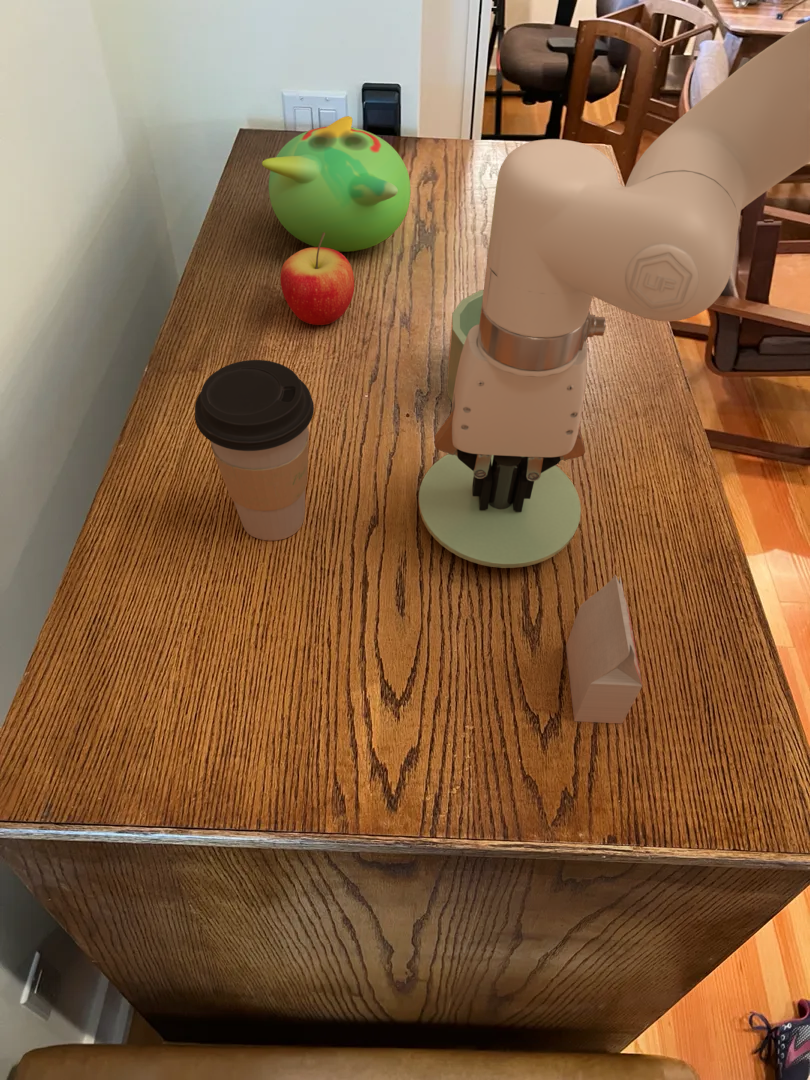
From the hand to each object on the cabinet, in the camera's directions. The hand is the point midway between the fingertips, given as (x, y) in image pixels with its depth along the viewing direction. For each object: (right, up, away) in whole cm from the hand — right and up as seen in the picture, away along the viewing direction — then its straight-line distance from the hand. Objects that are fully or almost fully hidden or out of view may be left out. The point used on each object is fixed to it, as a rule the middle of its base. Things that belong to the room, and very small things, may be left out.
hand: (499, 498), depth 70 cm
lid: (0, 0, +1) cm, 1 cm away
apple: (-19, +23, +22) cm, 37 cm away
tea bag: (+6, -15, -9) cm, 19 cm away
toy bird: (-17, +36, +33) cm, 52 cm away
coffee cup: (-21, -2, +2) cm, 21 cm away
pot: (+3, +13, +14) cm, 19 cm away
